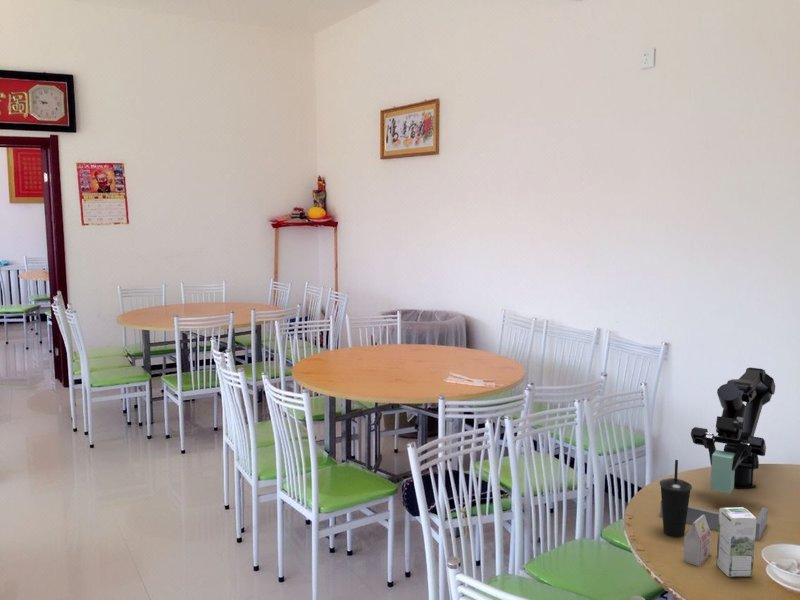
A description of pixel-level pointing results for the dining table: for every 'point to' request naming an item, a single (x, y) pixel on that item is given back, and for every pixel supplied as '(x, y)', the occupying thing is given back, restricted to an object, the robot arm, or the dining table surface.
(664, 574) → the dining table surface
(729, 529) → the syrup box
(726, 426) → the robot arm
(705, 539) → the small gable top carton
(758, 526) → the open crate
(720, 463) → the green block
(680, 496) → the drinking cup
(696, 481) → the dining table surface
